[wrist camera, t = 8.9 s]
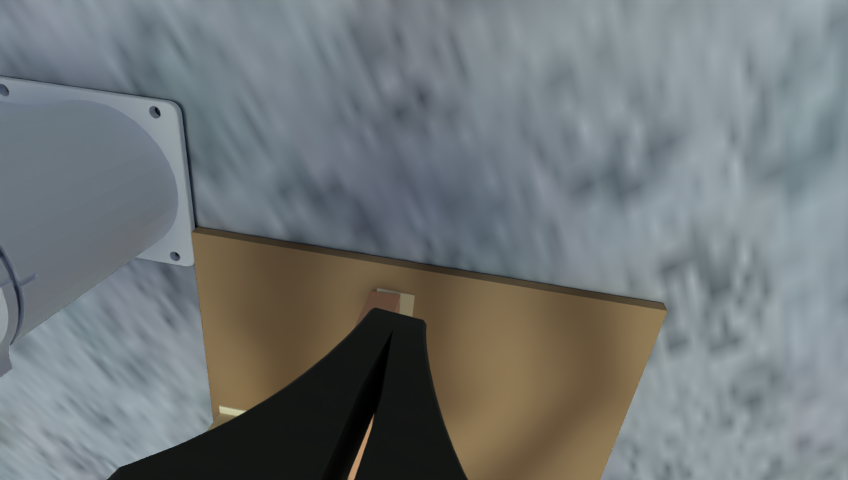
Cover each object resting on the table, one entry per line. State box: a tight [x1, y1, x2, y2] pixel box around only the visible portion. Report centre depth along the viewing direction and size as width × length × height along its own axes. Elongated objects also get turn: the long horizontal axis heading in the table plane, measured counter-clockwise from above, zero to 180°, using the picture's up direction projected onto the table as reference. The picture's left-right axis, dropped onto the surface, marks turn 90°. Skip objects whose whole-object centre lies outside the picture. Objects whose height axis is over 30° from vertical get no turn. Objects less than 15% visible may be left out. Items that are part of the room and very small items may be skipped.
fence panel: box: [349, 291, 400, 480], centre depth 23 cm, size 10×1×5 cm, turn 177°
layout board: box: [191, 227, 667, 480], centre depth 27 cm, size 22×18×1 cm
